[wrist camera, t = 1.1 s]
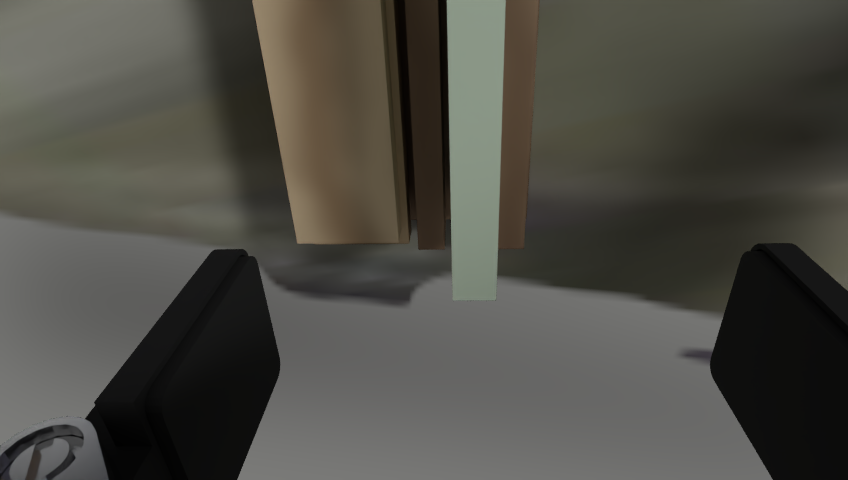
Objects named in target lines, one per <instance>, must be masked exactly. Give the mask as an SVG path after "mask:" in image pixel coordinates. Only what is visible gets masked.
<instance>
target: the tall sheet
mask: <svg viewBox="0 0 848 480" xmlns="http://www.w3.org/2000/svg"><path fill="white" fill-rule="evenodd" d="M505 6H506V0H447V34H448V87H449V139H450V192H451V244H452V293H453V294H452V295H453V300H496V291H497V261H498V229H499V197H500V165H501V133H502V101H503V70H504V38H505Z"/></svg>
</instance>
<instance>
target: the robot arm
mask: <svg viewBox="0 0 848 480" xmlns="http://www.w3.org/2000/svg"><path fill="white" fill-rule="evenodd" d="M710 369H711V374H712V377H713V379H714V381H715V383H716V384H717V386H718V388H719V390H720V391H721V393H722V394H723V396H724V398H725V400H726V401H727V403H728V405H729V406H730V408H731V410H732V411H733V413H734V415H735V416H736V418H737V420H738V422H739V423H740V425H741V427H742V428H743V430H744V432H745V433H746V435H747V437H748V438H749V440H750V442H751V443H752V445H753V447H754V448H755V450H756V452H757V453H758V455H759V457H760V459H761V460H762V462H763V464H764V465H765V467H766V469H767V470H768V472H769V474H770V475H771V477H772V479H773V480H848V291H847V290H846V289H845V288H843V287H842V286H841V285H840V284H839V283H838V282H837V281H836V280H834V279H833V278H832V277H831V276H830V275H829V274H828V273H827V272H825V271H824V270H823V269H822V268H821V267H820V266H819V265H818V264H816V263H815V262H814V261H813V260H812V259H811V258H810V257H809V256H807V255H806V254H805V253H804V252H803V251H802V250H801V249H800V248H798V247H797V246H796V245H794V244H790V243H771V244H757V245H755V246H754V247H753V248H752V249H751V251H747V252H745V253H744V254H743V255H742V257H741V260H740V263H739V266H738V270H737V273H736V276H735V280H734V283H733V286H732V290H731V293H730V297H729V300H728V303H727V307H726V310H725V313H724V317H723V320H722V323H721V327H720V330H719V333H718V337H717V340H716V343H715V347H714V350H713V353H712V357H711V361H710ZM279 371H280V357H279V353H278V349H277V345H276V340H275V336H274V332H273V328H272V323H271V319H270V314H269V310H268V306H267V301H266V297H265V293H264V289H263V284H262V280H261V276H260V271H259V267H258V263H257V260H256V258H255V257H253V256H248V254H247V252H246V251H245V250H243V249H218V250H213V251H212V252H211V253H210V254H209V256H208V257H207V258H206V259H205V261H204V262H203V263H202V265H201V266H200V267H199V268H198V270H197V271H196V272H195V274H194V275H193V276H192V277H191V279H190V280H189V281H188V283H187V284H186V285H185V286H184V288H183V289H182V290H181V292H180V293H179V294H178V296H177V297H176V298H175V299H174V301H173V302H172V303H171V304H170V306H169V307H168V308H167V309H166V311H165V312H164V313H163V315H162V316H161V317H160V318H159V320H158V321H157V322H156V324H155V325H154V326H153V328H152V329H151V330H150V331H149V333H148V334H147V335H146V337H145V338H144V339H143V340H142V342H141V343H140V344H139V345H138V347H137V348H136V349H135V351H134V352H133V353H132V354H131V356H130V357H129V358H128V360H127V361H126V362H125V363H124V365H123V366H122V367H121V369H120V370H119V371H118V372H117V374H116V375H115V376H114V378H113V379H112V380H111V381H110V383H109V384H108V385H107V386H106V388H105V389H104V390H103V392H102V393H101V394H100V395H99V397H98V398H97V399H96V401H95V402H94V403H95V407H94V408H93V409H92V410H91V412H90V413H89V414H88V416H87V417H86V418H85V419H83V418H81V417H70V416H66V417H60V418H53V419H49V420H46V421H43V422H41V423H38V424H35V425H33V426H31V427H29V428H27V429H25V430H23V431H21V432H19V433H17V434H16V435H14V436H13V437H11V438H10V439H9V440H7V441H6V442H4V443H3V444H2V445H0V480H237V478H238V476H239V474H240V471H241V469H242V466H243V463H244V461H245V459H246V456H247V454H248V451H249V449H250V446H251V444H252V441H253V439H254V436H255V434H256V431H257V429H258V426H259V424H260V421H261V419H262V416H263V414H264V411H265V409H266V406H267V404H268V401H269V399H270V396H271V394H272V392H273V389H274V387H275V384H276V381H277V379H278V376H279Z"/></svg>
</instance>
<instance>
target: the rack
mask: <svg viewBox="0 0 848 480" xmlns="http://www.w3.org/2000/svg"><path fill="white" fill-rule="evenodd" d="M539 1H540V0H506V6H505V38H504V70H503V101H502V133H501V165H500V197H499V229H498V249H524V237H525V220H526V217H527V200H528V184H529V167H530V150H531V134H532V117H533V101H534V84H535V68H536V51H537V35H538V18H539ZM252 2H253V7H254V13H255V18H256V23H257V29H258V34H259V39H260V45H261V50H262V56H263V61H264V66H265V72H266V77H267V83H268V88H269V93H270V99H271V104H272V109H273V115H274V120H275V126H276V131H277V136H278V142H279V147H280V152H281V158H282V163H283V169H284V174H285V179H286V185H287V190H288V195H289V201H290V206H291V212H292V217H293V222H294V228H295V233H296V239H297V244H308V243H314V244H409V242H410V235H411V220H417V231H418V249H419V250H429V249H445V229H446V219H451V192H450V139H449V87H448V34H447V0H252Z"/></svg>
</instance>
